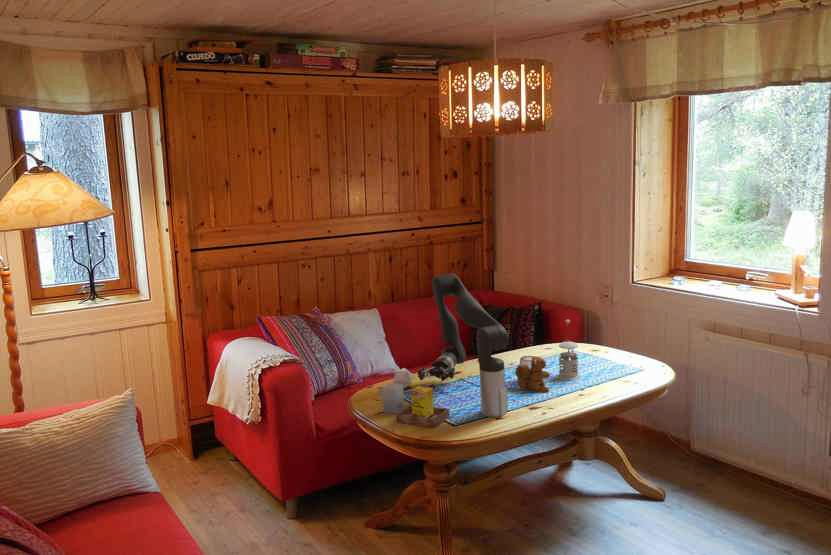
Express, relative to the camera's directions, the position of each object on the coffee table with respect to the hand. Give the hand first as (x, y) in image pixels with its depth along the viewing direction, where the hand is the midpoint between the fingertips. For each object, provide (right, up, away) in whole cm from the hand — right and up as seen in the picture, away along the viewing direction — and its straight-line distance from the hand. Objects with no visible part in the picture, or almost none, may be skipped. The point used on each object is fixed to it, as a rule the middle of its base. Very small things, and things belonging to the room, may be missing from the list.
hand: (431, 378), depth 271 cm
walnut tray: (-3, -14, -9) cm, 17 cm away
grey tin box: (-15, -13, +1) cm, 19 cm away
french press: (+60, -4, +32) cm, 68 cm away
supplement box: (-3, -13, -9) cm, 17 cm away
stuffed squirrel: (+42, -7, +18) cm, 46 cm away
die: (-11, -8, +28) cm, 32 cm away
